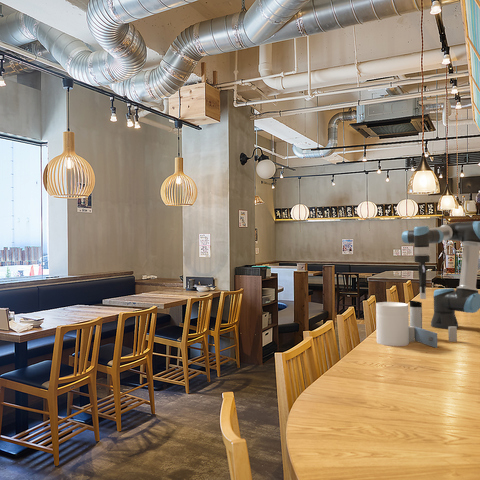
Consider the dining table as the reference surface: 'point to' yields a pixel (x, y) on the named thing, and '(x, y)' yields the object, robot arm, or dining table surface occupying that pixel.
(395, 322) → the canister
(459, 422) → the dining table surface
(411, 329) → the door post
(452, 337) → the wall stub
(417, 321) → the travel mug
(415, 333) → the door
